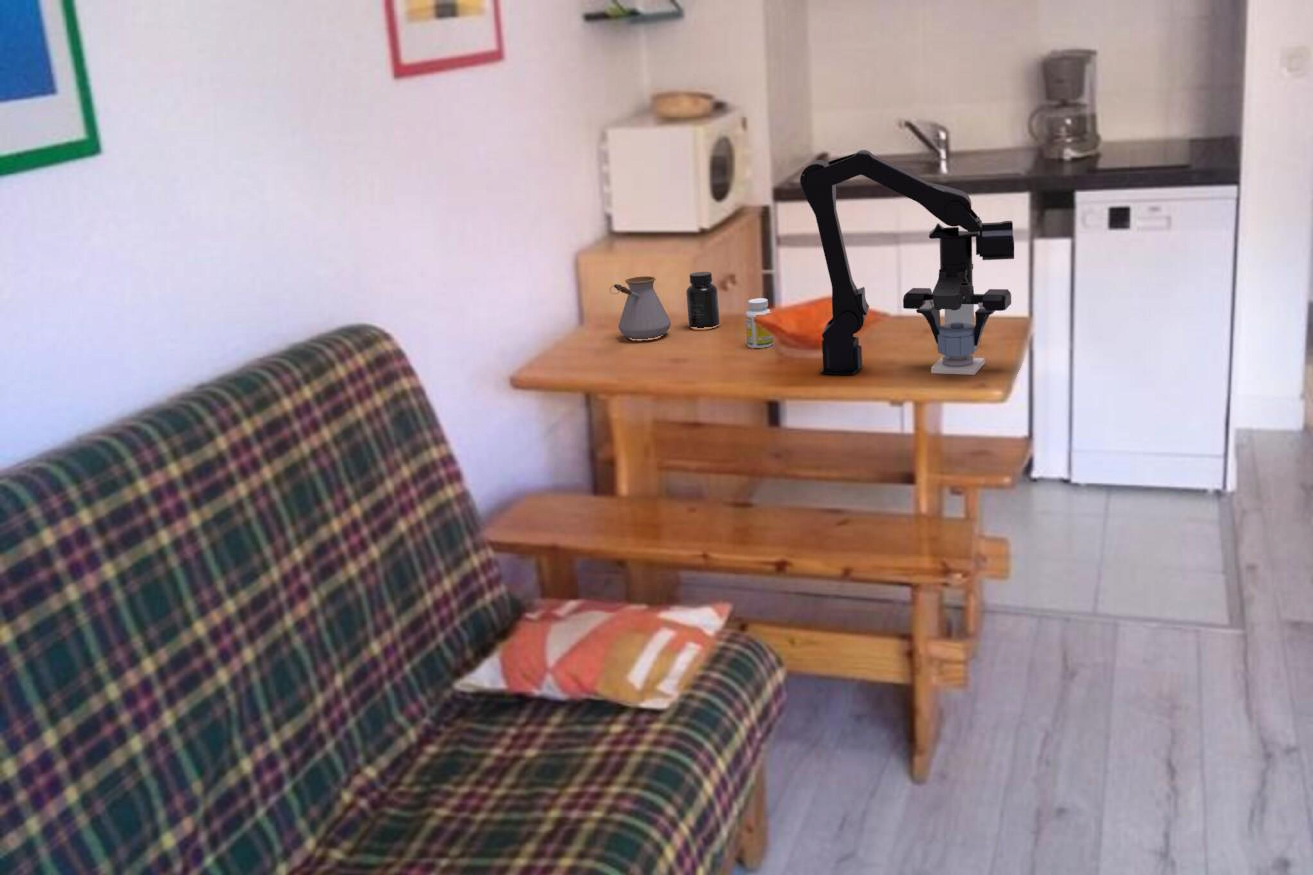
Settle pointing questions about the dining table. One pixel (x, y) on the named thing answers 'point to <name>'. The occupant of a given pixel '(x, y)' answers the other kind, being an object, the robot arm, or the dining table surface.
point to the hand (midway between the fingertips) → (957, 344)
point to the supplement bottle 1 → (702, 301)
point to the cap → (956, 339)
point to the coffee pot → (642, 310)
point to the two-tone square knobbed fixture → (958, 365)
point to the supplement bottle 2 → (754, 332)
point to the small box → (960, 314)
